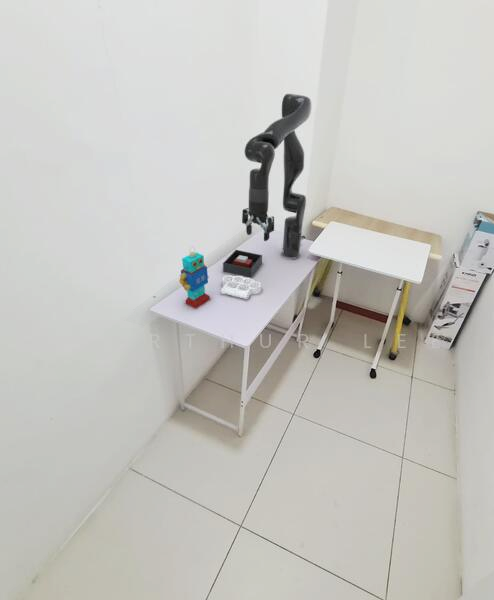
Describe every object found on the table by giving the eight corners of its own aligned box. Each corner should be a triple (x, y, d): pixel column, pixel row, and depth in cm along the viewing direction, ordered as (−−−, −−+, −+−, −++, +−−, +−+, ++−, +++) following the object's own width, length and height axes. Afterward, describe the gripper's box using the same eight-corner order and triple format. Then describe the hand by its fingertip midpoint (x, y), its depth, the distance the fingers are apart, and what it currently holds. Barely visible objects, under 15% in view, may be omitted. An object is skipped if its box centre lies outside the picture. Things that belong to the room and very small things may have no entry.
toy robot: (192, 310, 134) (186, 255, 119) (181, 304, 136) (174, 250, 122) (212, 297, 142) (209, 244, 128) (202, 292, 145) (197, 239, 130)
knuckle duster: (214, 293, 145) (228, 277, 156) (253, 302, 141) (264, 285, 153) (214, 287, 143) (228, 271, 154) (253, 296, 139) (265, 279, 151)
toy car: (233, 267, 163) (233, 258, 160) (237, 263, 166) (237, 254, 163) (249, 270, 161) (249, 261, 158) (252, 266, 165) (252, 257, 162)
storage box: (235, 258, 172) (235, 249, 169) (261, 264, 169) (262, 255, 166) (223, 272, 159) (222, 263, 157) (251, 278, 157) (251, 269, 154)
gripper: (279, 200, 126) (277, 239, 136) (249, 191, 132) (249, 229, 142) (267, 205, 121) (266, 245, 131) (237, 196, 127) (238, 235, 136)
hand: (257, 237), depth 136 cm, fingers open, 8 cm apart
